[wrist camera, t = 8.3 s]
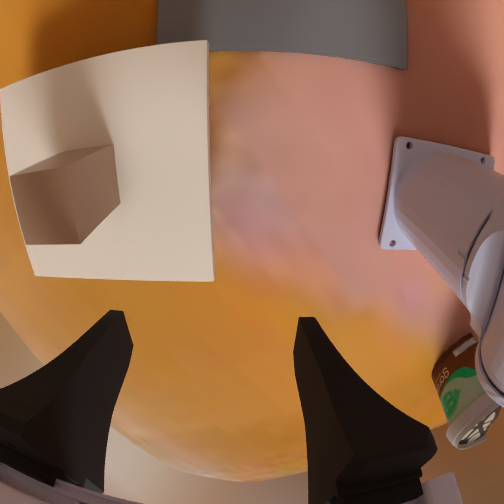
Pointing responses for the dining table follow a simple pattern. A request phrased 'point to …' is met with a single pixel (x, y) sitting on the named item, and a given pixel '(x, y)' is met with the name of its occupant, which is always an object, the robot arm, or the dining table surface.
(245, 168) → the dining table surface
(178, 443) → the dining table surface
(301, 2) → the mat
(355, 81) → the dining table surface
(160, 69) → the lid
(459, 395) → the food container
